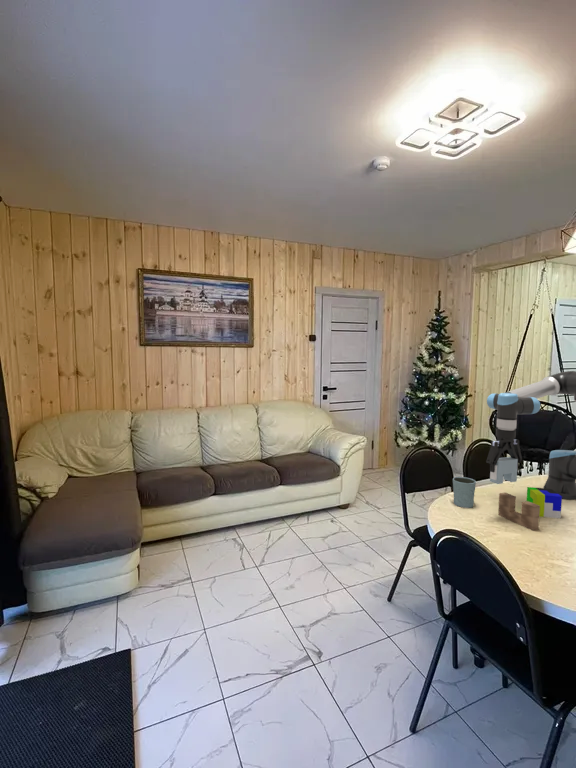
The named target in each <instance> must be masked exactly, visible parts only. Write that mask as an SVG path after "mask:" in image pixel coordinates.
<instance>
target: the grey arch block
mask: <svg viewBox="0 0 576 768" xmlns="http://www.w3.org/2000/svg"><path fill="white" fill-rule="evenodd" d="M493 462H494V461H493ZM517 463H518V459H515V458H511V456H507V457H505V456H504V457H500V458H499V459H498V461H497V463H496V465H497V480H493V479H491V478H490V477H489V482H491V483H494V484H496V485H500V484H501V485H502V484H504V480H505V481H507V482H510V483H515V482H516V483H517V480H518V479H517V477H518V469H517ZM518 464H519V463H518Z"/></svg>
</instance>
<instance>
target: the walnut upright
mask: <svg viewBox="0 0 576 768" xmlns="http://www.w3.org/2000/svg"><path fill="white" fill-rule="evenodd" d="M498 495H499V496H498V513H497V514H498V516H500V517H502V518H504V519H506V520H508V521H511V522H512V523H515V524H516V525H519V526H521V527H524V528H525V529H528V530H530V531H537V530H539V524H540V517H539V512H540V506H539V505H537V504H534V503H531V502H529V501H527V500H526V501H522V502H521V508H520V509H521V511H520V512H519V511H516V501H517V500H516V499H517V496H516V495H512V494H510V493H508V492H500V493H499V494H498Z"/></svg>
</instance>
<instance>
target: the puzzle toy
mask: <svg viewBox="0 0 576 768" xmlns="http://www.w3.org/2000/svg"><path fill="white" fill-rule="evenodd" d="M526 489H527V490H526V501H529V502H531V503H534V504H537V505H539V506H540V512H539V518H550V519H561V515H562V505H563V504H562V502H563V501H562V500H563V499H562V496H561V495H559V494H558V493H556V492H555V491H554V490H552V489H547V488H543V487H533V486H532V487H531V486H527V487H526Z"/></svg>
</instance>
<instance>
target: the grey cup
mask: <svg viewBox="0 0 576 768" xmlns="http://www.w3.org/2000/svg"><path fill="white" fill-rule="evenodd" d="M476 484H477V481H476V480H475V479H473V478H470V477H466V476H454V477H453V478H452V488H453V504H454V505H455V506H456V507H461V508H465V509H471V508H473V507H474V503H475V501H474V500H475V493H476V491H475V490H476Z"/></svg>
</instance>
